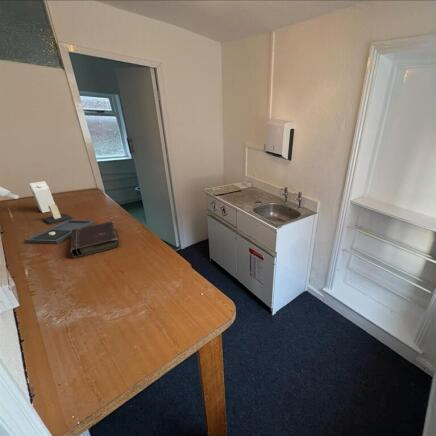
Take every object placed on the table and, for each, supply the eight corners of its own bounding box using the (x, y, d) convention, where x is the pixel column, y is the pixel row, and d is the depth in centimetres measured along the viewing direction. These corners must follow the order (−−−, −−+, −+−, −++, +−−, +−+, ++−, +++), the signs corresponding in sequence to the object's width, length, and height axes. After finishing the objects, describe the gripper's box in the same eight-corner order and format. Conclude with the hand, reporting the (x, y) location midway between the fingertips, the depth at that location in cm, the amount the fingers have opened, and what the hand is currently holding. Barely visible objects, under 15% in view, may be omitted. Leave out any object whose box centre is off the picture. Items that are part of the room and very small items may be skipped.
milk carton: (39, 210, 152) (27, 182, 145) (54, 207, 158) (43, 180, 150) (42, 213, 149) (30, 184, 141) (57, 210, 154) (46, 182, 147)
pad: (33, 240, 117) (32, 236, 116) (52, 231, 126) (50, 228, 125) (54, 241, 117) (52, 237, 116) (71, 232, 126) (69, 228, 125)
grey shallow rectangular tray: (26, 243, 115) (24, 240, 115) (68, 222, 138) (68, 219, 138) (57, 243, 116) (56, 240, 115) (94, 223, 139) (93, 220, 138)
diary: (72, 259, 105) (68, 249, 103) (73, 237, 122) (70, 229, 120) (121, 246, 116) (119, 238, 114) (116, 228, 133) (114, 220, 131)
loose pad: (49, 224, 135) (43, 209, 131) (43, 220, 139) (37, 205, 136) (71, 218, 143) (66, 204, 139) (65, 215, 147) (59, 201, 144)
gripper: (-13, 179, 109) (25, 194, 121) (-24, 173, 118) (13, 187, 130) (-23, 191, 107) (17, 204, 119) (-33, 183, 116) (4, 197, 128)
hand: (15, 196), depth 124 cm, fingers open, 8 cm apart
